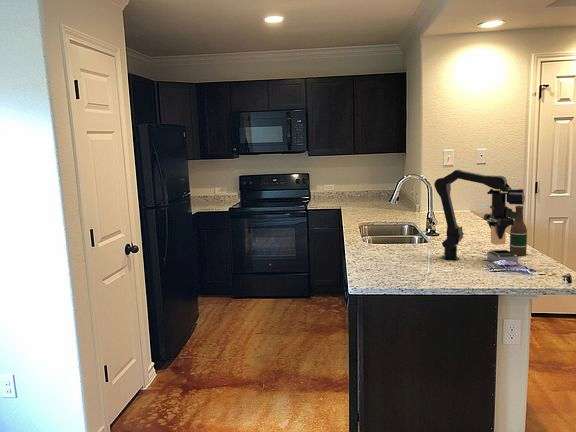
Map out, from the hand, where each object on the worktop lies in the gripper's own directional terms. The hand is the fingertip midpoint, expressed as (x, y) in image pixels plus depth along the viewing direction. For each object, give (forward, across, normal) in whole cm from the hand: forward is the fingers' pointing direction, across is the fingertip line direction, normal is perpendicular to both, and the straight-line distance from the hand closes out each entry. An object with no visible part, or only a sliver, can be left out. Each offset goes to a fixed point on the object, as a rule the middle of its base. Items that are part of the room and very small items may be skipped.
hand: (498, 237), depth 214 cm
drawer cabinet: (+12, +1, -2) cm, 12 cm away
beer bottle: (+12, +15, -17) cm, 25 cm away
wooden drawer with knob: (+2, 0, 0) cm, 2 cm away
